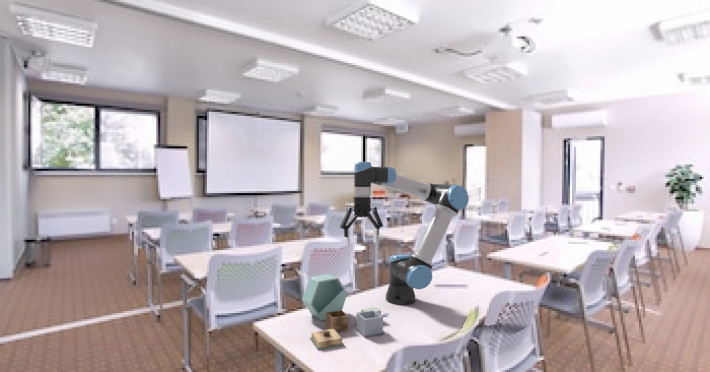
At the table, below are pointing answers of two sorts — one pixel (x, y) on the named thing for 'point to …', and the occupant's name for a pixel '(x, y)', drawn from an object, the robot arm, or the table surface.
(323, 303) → the planter
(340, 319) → the walnut box
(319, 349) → the felt mat
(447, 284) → the table surface
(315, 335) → the lid
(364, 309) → the pale green block
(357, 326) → the blue-grey box
